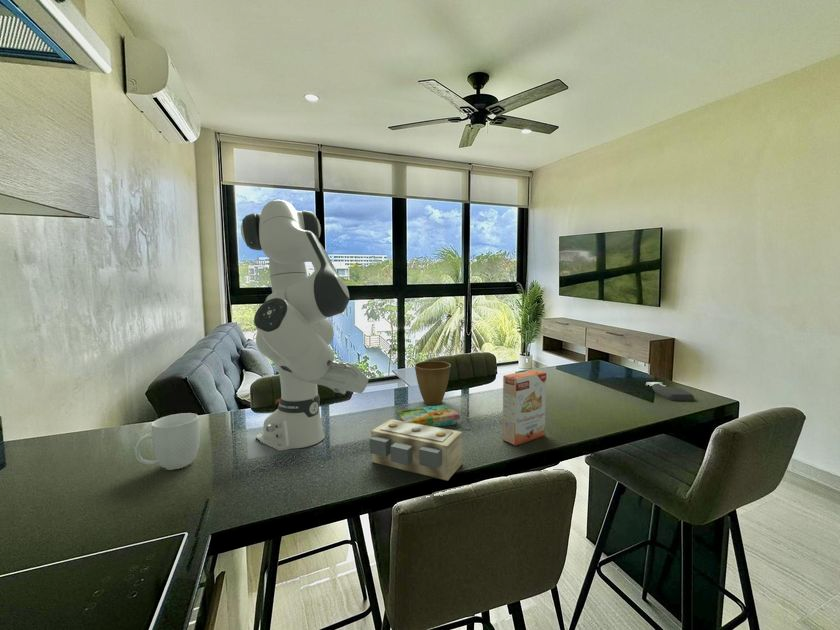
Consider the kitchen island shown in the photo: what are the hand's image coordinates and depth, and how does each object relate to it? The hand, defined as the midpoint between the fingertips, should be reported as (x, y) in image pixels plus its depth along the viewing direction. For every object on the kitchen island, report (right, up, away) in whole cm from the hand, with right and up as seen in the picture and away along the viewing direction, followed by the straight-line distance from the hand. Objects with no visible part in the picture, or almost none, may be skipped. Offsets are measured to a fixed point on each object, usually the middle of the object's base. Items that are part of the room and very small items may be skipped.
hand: (341, 390), depth 92 cm
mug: (-49, -24, +13) cm, 56 cm away
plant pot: (+25, -18, +66) cm, 72 cm away
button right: (+22, -19, +3) cm, 29 cm away
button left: (+8, -19, +10) cm, 23 cm away
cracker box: (+52, -21, +28) cm, 63 cm away
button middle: (+14, -19, +5) cm, 25 cm away
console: (+18, -23, +13) cm, 32 cm away
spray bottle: (+128, -16, +74) cm, 149 cm away
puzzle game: (+22, -21, +43) cm, 52 cm away
